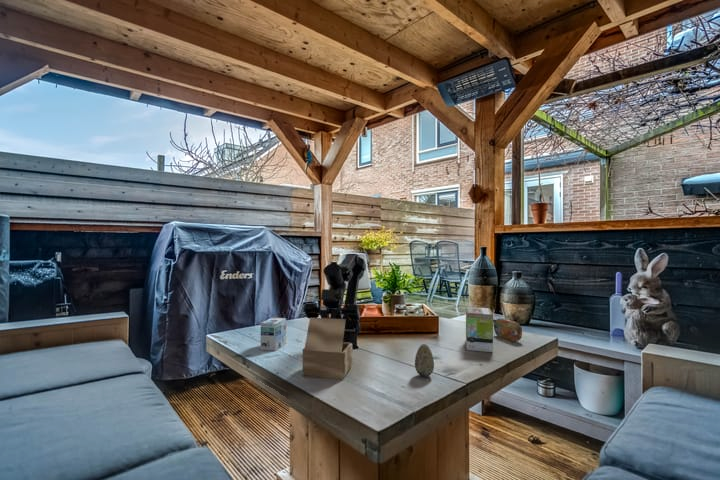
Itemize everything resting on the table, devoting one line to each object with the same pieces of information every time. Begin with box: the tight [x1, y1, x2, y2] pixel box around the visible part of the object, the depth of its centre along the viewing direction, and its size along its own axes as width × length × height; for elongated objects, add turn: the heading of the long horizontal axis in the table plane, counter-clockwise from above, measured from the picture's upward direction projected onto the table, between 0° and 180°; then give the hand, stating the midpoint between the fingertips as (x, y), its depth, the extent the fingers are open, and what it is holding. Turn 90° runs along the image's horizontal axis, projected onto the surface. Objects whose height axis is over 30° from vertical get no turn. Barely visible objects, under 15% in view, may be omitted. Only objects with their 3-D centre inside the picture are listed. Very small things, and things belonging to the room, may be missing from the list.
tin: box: [493, 318, 523, 343], centre depth 151 cm, size 15×3×8 cm, turn 17°
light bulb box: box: [260, 317, 287, 352], centre depth 141 cm, size 11×7×11 cm, turn 168°
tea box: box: [465, 306, 494, 353], centre depth 141 cm, size 15×10×15 cm, turn 164°
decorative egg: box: [414, 343, 435, 378], centre depth 108 cm, size 6×6×10 cm
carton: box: [301, 342, 353, 380], centre depth 113 cm, size 12×14×8 cm
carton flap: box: [303, 317, 346, 353], centre depth 110 cm, size 10×12×1 cm
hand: (326, 333), depth 111 cm, fingers closed
